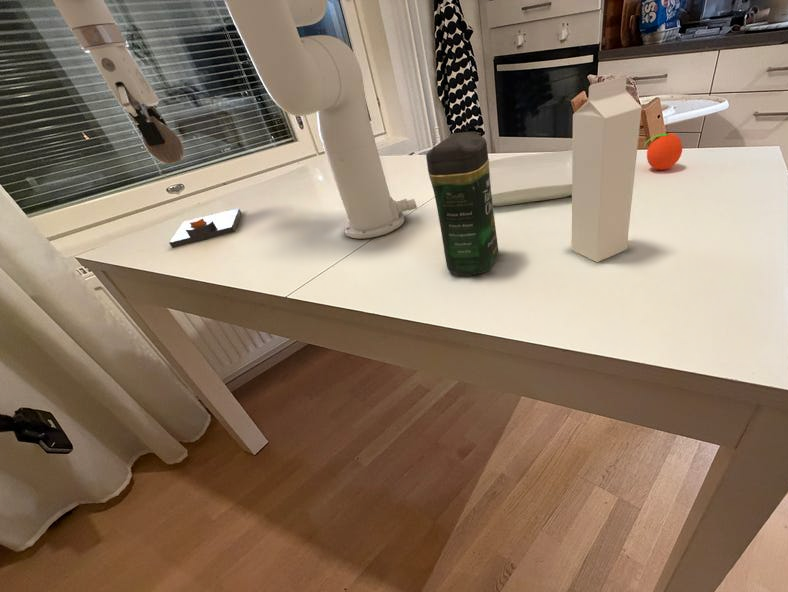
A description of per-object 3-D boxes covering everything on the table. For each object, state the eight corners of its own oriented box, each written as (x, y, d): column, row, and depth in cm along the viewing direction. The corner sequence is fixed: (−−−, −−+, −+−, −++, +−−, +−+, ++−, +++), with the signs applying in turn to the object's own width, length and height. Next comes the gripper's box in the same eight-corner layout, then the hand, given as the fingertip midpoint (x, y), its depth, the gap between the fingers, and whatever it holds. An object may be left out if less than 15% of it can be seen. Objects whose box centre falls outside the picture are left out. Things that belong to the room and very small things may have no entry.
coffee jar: (491, 277, 60) (473, 142, 48) (442, 277, 62) (413, 148, 50) (504, 249, 67) (491, 124, 55) (460, 250, 69) (438, 130, 57)
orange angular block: (207, 222, 94) (203, 216, 93) (205, 226, 92) (201, 220, 91) (194, 226, 94) (190, 219, 93) (191, 230, 92) (187, 223, 91)
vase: (173, 164, 87) (146, 118, 81) (149, 167, 88) (121, 122, 83) (196, 155, 92) (172, 112, 86) (173, 158, 93) (148, 116, 88)
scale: (241, 213, 106) (235, 202, 104) (235, 233, 94) (228, 220, 92) (186, 227, 103) (179, 215, 101) (172, 249, 91) (163, 236, 89)
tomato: (641, 176, 85) (646, 139, 80) (637, 166, 90) (641, 131, 85) (682, 172, 83) (689, 134, 78) (675, 162, 88) (681, 126, 83)
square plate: (600, 199, 78) (601, 178, 75) (464, 217, 80) (461, 198, 78) (576, 163, 98) (577, 145, 96) (468, 178, 101) (466, 162, 99)
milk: (626, 250, 60) (647, 75, 46) (596, 263, 59) (608, 85, 44) (599, 238, 65) (610, 75, 51) (569, 250, 63) (572, 84, 49)
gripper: (107, 34, 70) (171, 144, 82) (136, 38, 83) (187, 133, 95) (60, 41, 69) (132, 152, 80) (97, 44, 82) (154, 140, 93)
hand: (161, 141), depth 87 cm, fingers closed on vase, 6 cm apart
